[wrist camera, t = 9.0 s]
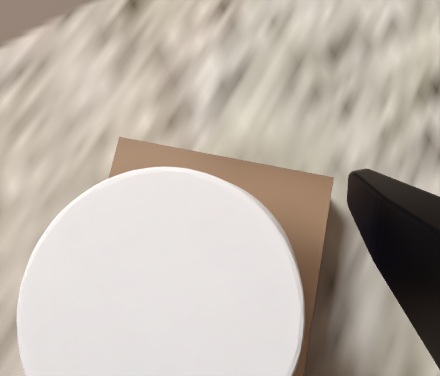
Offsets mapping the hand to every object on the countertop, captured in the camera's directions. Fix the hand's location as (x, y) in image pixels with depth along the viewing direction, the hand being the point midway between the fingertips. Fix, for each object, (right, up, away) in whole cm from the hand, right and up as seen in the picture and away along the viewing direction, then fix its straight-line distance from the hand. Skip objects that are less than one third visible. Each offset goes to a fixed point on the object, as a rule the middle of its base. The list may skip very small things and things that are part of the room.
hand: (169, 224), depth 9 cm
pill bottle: (+1, -3, +7) cm, 8 cm away
